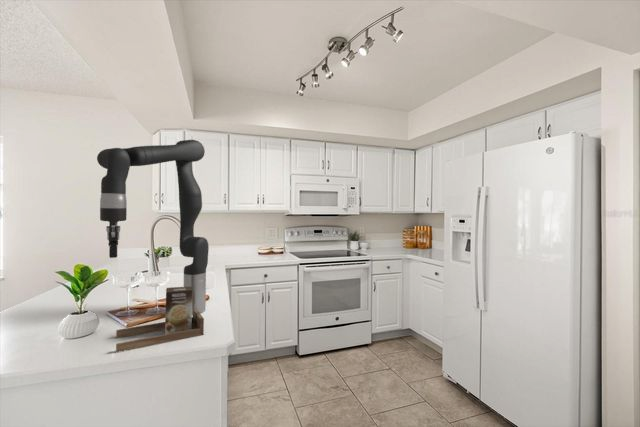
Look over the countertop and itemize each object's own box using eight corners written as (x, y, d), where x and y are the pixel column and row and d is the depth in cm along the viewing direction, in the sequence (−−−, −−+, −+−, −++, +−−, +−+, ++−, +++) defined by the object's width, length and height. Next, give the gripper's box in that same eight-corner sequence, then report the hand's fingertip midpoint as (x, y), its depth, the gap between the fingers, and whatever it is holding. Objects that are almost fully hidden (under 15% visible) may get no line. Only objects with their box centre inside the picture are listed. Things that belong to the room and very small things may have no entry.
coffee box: (164, 336, 110) (164, 292, 110) (165, 329, 116) (165, 287, 116) (191, 332, 114) (192, 289, 113) (191, 326, 120) (192, 285, 119)
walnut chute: (116, 336, 109) (116, 320, 108) (195, 322, 123) (195, 307, 123) (116, 352, 97) (116, 334, 97) (203, 334, 112) (203, 318, 112)
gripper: (126, 207, 101) (126, 259, 102) (126, 206, 112) (125, 253, 113) (99, 207, 97) (98, 261, 97) (101, 206, 108) (100, 255, 108)
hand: (113, 257), depth 105 cm, fingers closed
